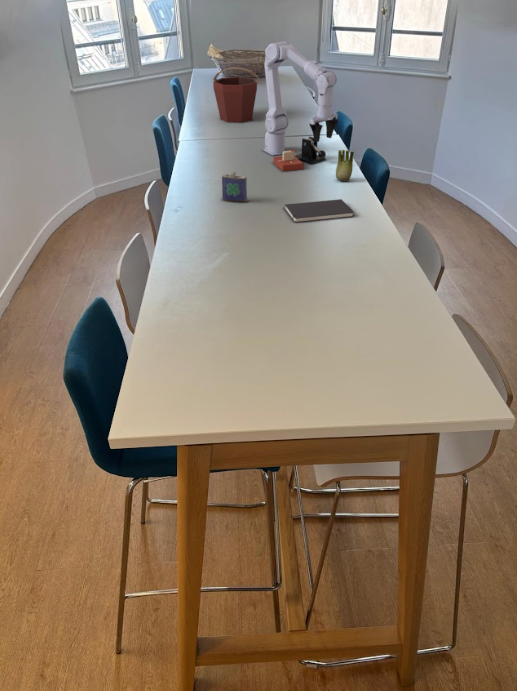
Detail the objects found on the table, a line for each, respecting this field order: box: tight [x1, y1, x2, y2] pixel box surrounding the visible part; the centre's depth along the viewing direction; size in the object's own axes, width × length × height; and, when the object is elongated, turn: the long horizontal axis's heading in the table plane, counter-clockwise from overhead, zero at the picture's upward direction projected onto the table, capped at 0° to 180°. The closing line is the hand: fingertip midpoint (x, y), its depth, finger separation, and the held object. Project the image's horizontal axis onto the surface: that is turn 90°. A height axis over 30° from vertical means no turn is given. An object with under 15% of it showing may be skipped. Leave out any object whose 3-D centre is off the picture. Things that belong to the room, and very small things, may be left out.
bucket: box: [212, 66, 261, 124], centre depth 298 cm, size 24×22×25 cm
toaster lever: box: [307, 137, 327, 158], centre depth 243 cm, size 11×3×3 cm, turn 42°
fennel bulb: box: [335, 149, 355, 182], centre depth 223 cm, size 6×5×12 cm
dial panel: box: [272, 155, 304, 172], centre depth 240 cm, size 12×9×3 cm
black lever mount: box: [294, 136, 326, 165], centre depth 246 cm, size 11×9×9 cm
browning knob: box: [282, 149, 295, 161], centre depth 239 cm, size 5×2×4 cm, turn 107°
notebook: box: [284, 198, 355, 223], centre depth 199 cm, size 13×2×21 cm
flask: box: [221, 170, 248, 203], centre depth 206 cm, size 9×3×11 cm, turn 74°
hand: (322, 139), depth 238 cm, fingers open, 7 cm apart
